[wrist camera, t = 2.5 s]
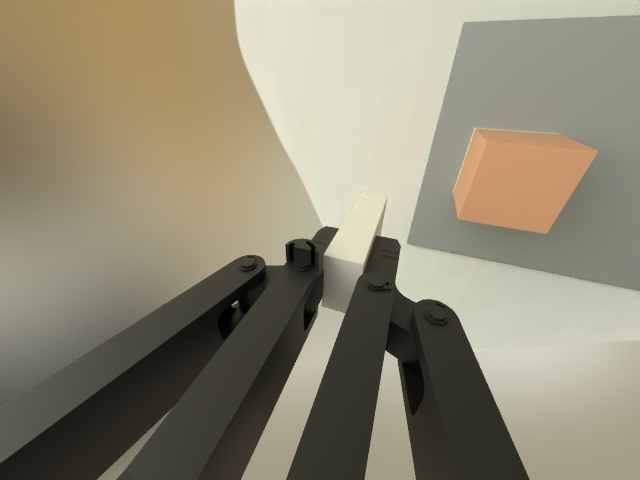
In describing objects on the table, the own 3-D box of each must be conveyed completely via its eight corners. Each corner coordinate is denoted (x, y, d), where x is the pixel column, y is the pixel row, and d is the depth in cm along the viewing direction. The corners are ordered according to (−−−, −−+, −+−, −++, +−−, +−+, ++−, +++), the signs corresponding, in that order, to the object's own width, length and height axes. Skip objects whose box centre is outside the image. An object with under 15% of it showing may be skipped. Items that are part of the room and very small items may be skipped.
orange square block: (474, 127, 21) (487, 141, 17) (558, 133, 20) (598, 151, 15) (452, 192, 25) (458, 219, 20) (522, 202, 23) (546, 234, 18)
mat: (463, 23, 19) (464, 22, 18) (1176, -5, 11) (1198, -8, 10) (407, 241, 30) (406, 243, 29) (734, 307, 22) (738, 310, 21)
